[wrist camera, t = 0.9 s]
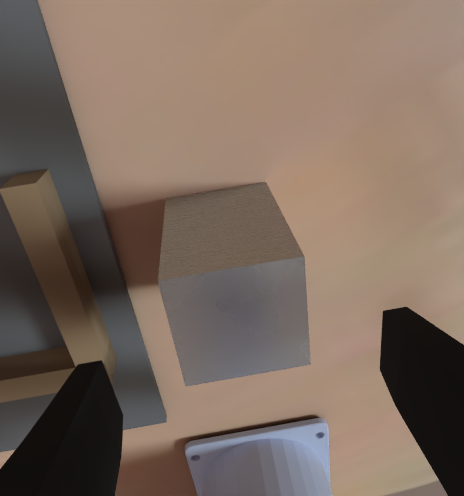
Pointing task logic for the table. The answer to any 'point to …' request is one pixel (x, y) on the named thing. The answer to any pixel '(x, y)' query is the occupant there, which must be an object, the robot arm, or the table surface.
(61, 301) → the dock
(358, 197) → the table surface
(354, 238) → the table surface
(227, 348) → the aluminium block
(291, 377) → the table surface
